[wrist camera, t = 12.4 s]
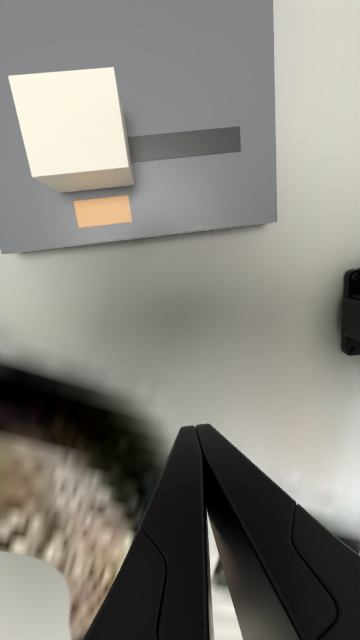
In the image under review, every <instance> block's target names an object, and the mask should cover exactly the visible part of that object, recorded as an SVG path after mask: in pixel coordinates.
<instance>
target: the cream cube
mask: <svg viewBox="0 0 360 640" xmlns="http://www.w3.org/2000/svg"><path fill="white" fill-rule="evenodd" d="M8 78H9V82H10V86H11V91H12V95H13V99H14V103H15V107H16V112H17V116H18V120H19V124H20V128H21V133H22V137H23V141H24V145H25V149H26V154H27V158H28V162H29V166H30V170H31V175H32V177H33V178H35V179H36V180H38V181H40V182H42V183H43V184H45V185H47V186H49V187H51V188H52V189H54V190H56V191H58V192H59V193H65V192H74V191H83V190H93V189H102V188H111V187H121V186H130V185H134V178H133V171H132V165H131V158H130V151H129V144H128V137H127V131H126V124H125V117H124V110H123V106H122V101H121V97H120V93H119V88H118V84H117V79H116V75H115V71H114V67H108V68H96V69H84V70H72V71H60V72H48V73H35V74H23V75H11V76H8Z"/></svg>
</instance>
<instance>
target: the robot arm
mask: <svg viewBox="0 0 360 640" xmlns="http://www.w3.org/2000/svg"><path fill="white" fill-rule="evenodd" d="M354 274H355V278H354V279H353V278H352V277H353V275H354ZM342 333H343V334H342V351H343V353H345V354H347V355H349V356H352V355H359V354H360V268H358V269H351V270H349V271H348V272H347V273H346V276H345V292H344V302H343V322H342ZM350 347H351V349H350V350H348V349H349V348H350ZM206 507H207V509H206ZM207 512H208V516H209V520H210V524H211V527H212V531H213V535H214V538H215V542H216V545H217V549H218V552H219V556H220V559H221V563H222V566H223V570H224V573H225V577H226V580H227V584H228V587H229V591H230V594H231V598H232V601H233V605H234V609H235V612H236V616H237V619H238V623H239V626H240V630H241V633H242V637H243V640H360V555H359V554H357V553H356V552H355V551H353V550H352V549H351V548H350V547H348V546H347V545H346V544H345V543H343V542H342V541H341V540H340V539H338V538H337V537H336V536H335V535H333V534H332V533H331V532H330V531H329V530H328V529H326V528H325V527H324V526H323V525H322V524H321V523H319V522H318V521H317V520H316V519H315V518H314V517H312V516H311V515H310V514H309V513H308V512H307V511H306V510H305V509H304V508H303V507H301V506H300V505H299V504H297V505H296V501H295V500H293V499H292V498H291V497H290V496H289V495H288V494H287V493H286V492H285V491H283V490H282V489H281V488H280V487H279V486H278V485H277V484H276V483H275V482H274V481H272V480H271V479H270V478H269V477H268V476H267V475H266V474H265V473H264V472H262V471H261V470H260V469H259V468H258V467H257V466H256V465H255V464H254V463H252V462H251V461H250V460H249V459H248V458H247V457H246V456H245V455H244V454H243V453H241V452H240V451H239V450H238V449H237V448H236V447H235V446H234V445H233V444H231V443H230V442H229V441H228V440H227V439H226V438H225V437H224V436H223V435H221V434H220V433H219V432H218V431H217V430H216V429H215V428H214V427H213V426H211V425H210V424H200V425H196V427H195V426H193V425H192V426H184V427H181V428H180V430H179V433H178V435H177V437H176V440H175V442H174V445H173V447H172V449H171V452H170V454H169V456H168V459H167V461H166V464H165V466H164V468H163V471H162V473H161V476H160V478H159V480H158V483H157V485H156V487H155V490H154V492H153V495H152V497H151V499H150V502H149V504H148V507H147V509H146V511H145V514H144V516H143V518H142V521H141V523H140V528H139V529H138V530H137V532H136V535H135V537H134V539H133V542H132V544H131V547H130V549H129V551H128V553H127V555H126V558H125V560H124V562H123V564H122V566H121V568H120V571H119V573H118V575H117V577H116V579H115V580H114V582H113V584H112V586H111V588H110V590H109V592H108V594H107V596H106V598H105V600H104V602H103V604H102V605H101V607H100V609H99V611H98V613H97V614H96V616H95V618H94V620H93V622H92V624H91V625H90V627H89V629H88V631H87V633H86V635H85V636H84V638H83V640H214V630H213V612H212V594H211V576H210V558H209V540H208V523H207Z"/></svg>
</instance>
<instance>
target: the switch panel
mask: <svg viewBox="0 0 360 640" xmlns="http://www.w3.org/2000/svg"><path fill="white" fill-rule="evenodd" d="M108 67H114V71H115V75H116V79H117V84H118V88H119V93H120V97H121V101H122V106H123V110H124V117H125V124H126V131H127V137H128V144H129V151H130V158H131V165H132V171H133V178H134V185H130V186H121V187H111V188H102V189H93V190H83V191H74V192H65V193H59V192H58V191H56V190H54V189H52V188H51V187H49V186H47V185H45V184H43V183H42V182H40V181H38V180H36V179H35V178H33V177H32V175H31V170H30V166H29V162H28V158H27V154H26V149H25V145H24V141H23V137H22V133H21V128H20V124H19V120H18V116H17V112H16V107H15V103H14V99H13V95H12V91H11V86H10V82H9V78H8V76H11V75H23V74H35V73H48V72H60V71H72V70H84V69H96V68H108ZM272 222H277V194H276V139H275V85H274V30H273V0H0V249H1V253H2V254H12V253H25V252H33V251H41V250H50V249H58V248H67V247H75V246H84V245H92V244H100V243H109V242H117V241H126V240H134V239H143V238H151V237H159V236H168V235H176V234H185V233H193V232H202V231H210V230H219V229H227V228H235V227H244V226H252V225H261V224H267V223H272Z"/></svg>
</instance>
